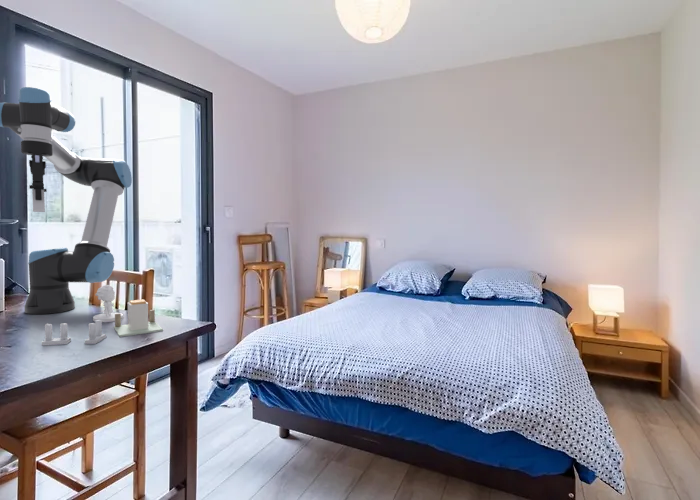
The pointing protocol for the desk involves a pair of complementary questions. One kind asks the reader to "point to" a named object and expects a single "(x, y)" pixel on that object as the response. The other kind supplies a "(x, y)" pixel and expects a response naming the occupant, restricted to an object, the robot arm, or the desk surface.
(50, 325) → the clip
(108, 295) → the figurine
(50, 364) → the desk surface
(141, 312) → the connector
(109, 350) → the desk surface
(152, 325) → the holder
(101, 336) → the clip
